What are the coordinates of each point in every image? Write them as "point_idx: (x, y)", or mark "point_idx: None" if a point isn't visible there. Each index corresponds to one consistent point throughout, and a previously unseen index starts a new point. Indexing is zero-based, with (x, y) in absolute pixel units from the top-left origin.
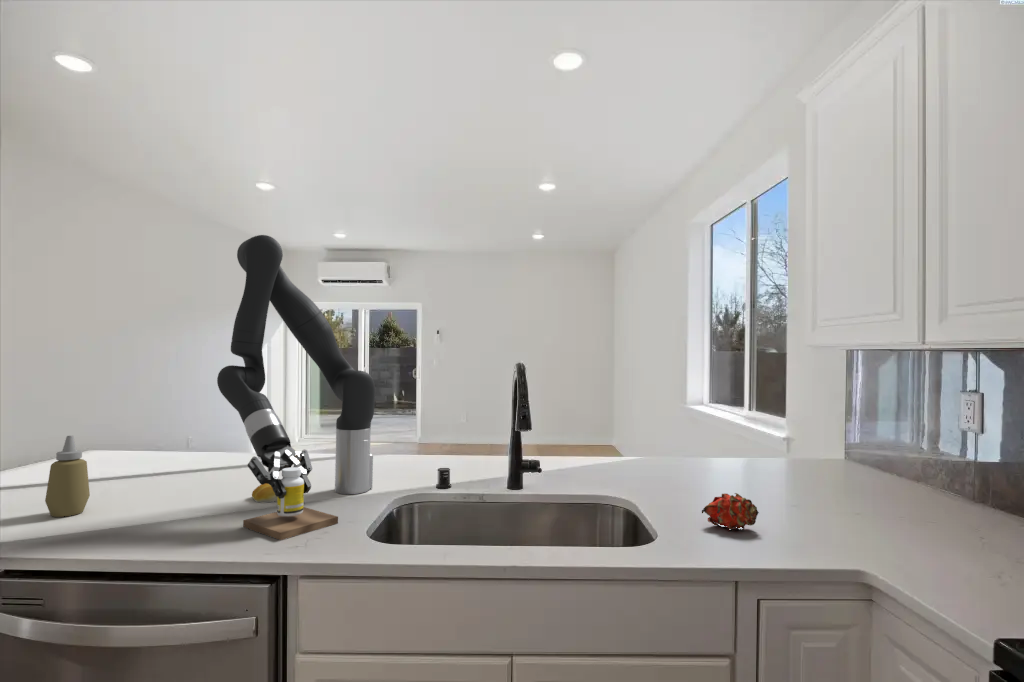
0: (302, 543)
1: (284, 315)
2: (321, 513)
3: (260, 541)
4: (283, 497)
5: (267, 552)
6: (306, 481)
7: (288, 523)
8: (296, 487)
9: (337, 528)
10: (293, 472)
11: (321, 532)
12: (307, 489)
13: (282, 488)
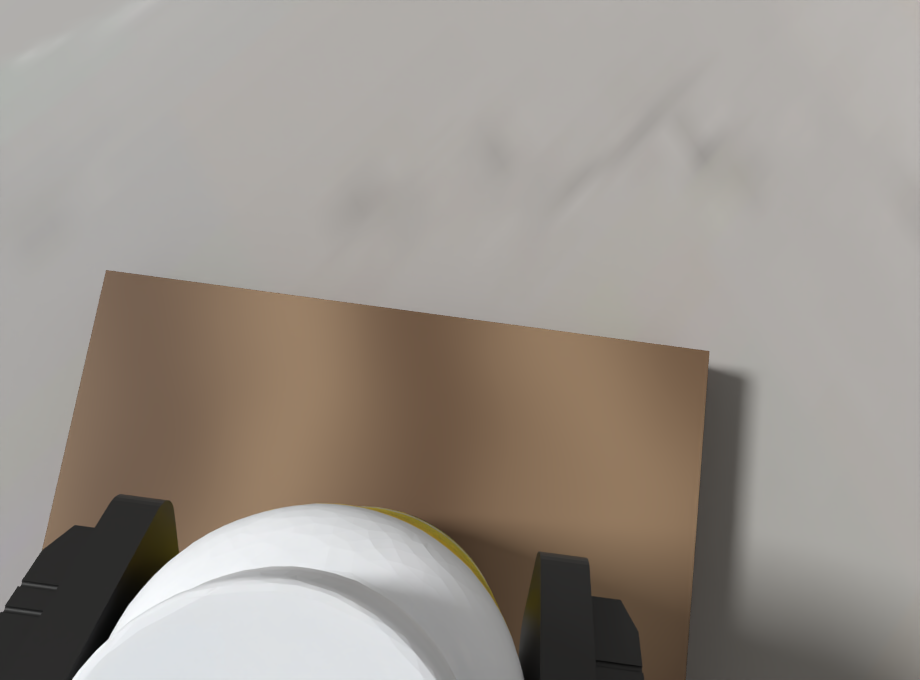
0: (642, 167)
1: None
2: (91, 489)
3: (793, 486)
4: (524, 613)
5: (906, 235)
6: (90, 586)
7: (493, 510)
8: (381, 511)
9: (240, 195)
10: (373, 601)
11: (382, 233)
12: (170, 517)
13: (578, 614)
